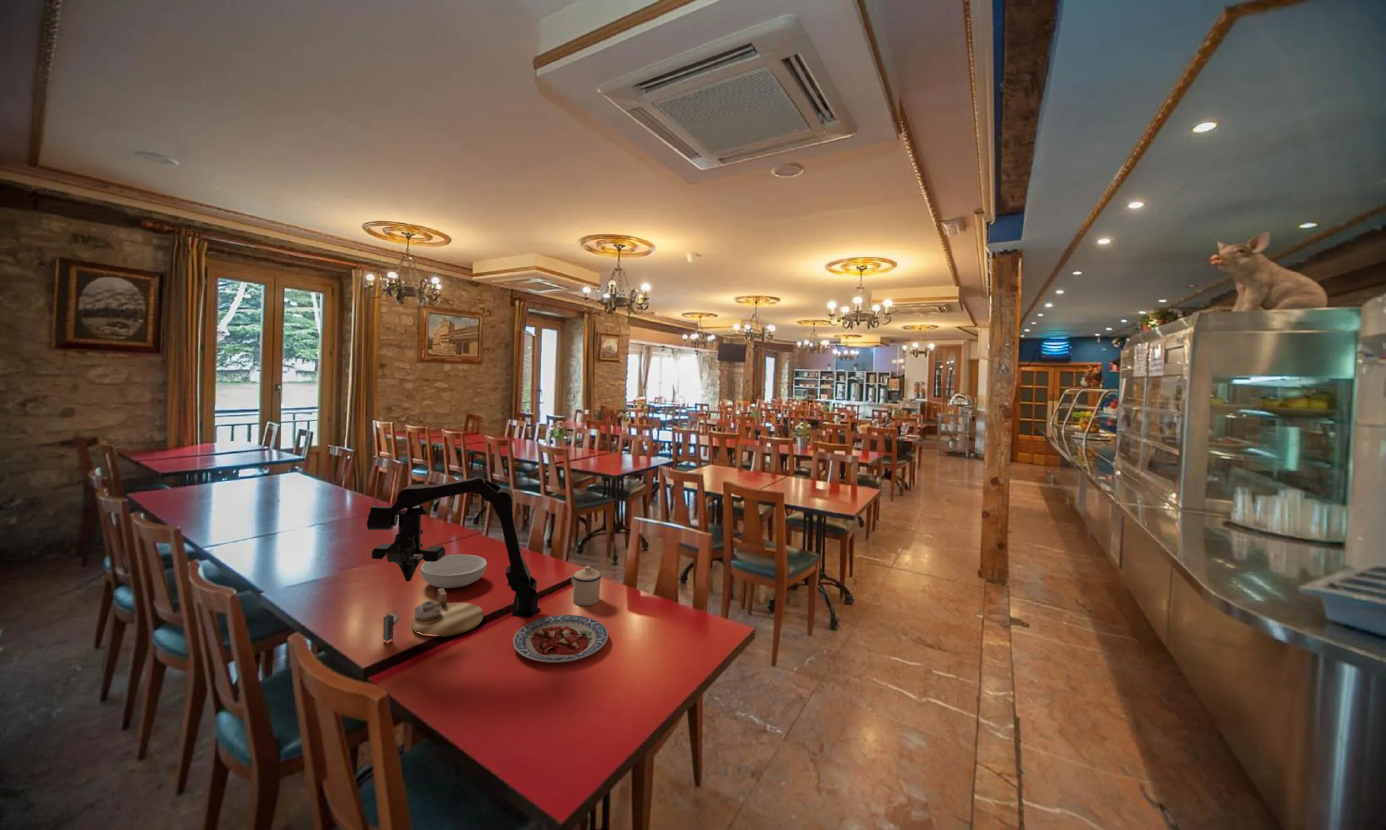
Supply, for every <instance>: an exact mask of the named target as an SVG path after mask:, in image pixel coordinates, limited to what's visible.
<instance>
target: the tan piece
mask: <svg viewBox="0 0 1386 830" xmlns="http://www.w3.org/2000/svg"><path fill="white" fill-rule="evenodd" d="M447 595H448V594H447V592H446V590H445V588H438V589H437V601H436V602H437V603H439V604H441V605H442V611H441V616H440V617H439V618H437V619H435V620H432V621H426V622H421V621H417V620H415V616H414V617H413V619H412V622H411V629H412V628H413V629H414V631H416V632H420V633H422V634H433V635H435V634H436V635H440V636H442V637H441V638H444V637H451V636H452V637H453V636H456V635H461V634H463V633H466V632H468V631H471V630H473V629H475V628H476V627H477V626H478V625H480V624H481V623H482V621H483V620H484V610H483V609H482V607H480V606H479V605H476V604H473V603H469V602H468V603H467V602H452V603H451V602H450V603H447V597H448V596H447ZM413 629H412V630H413ZM414 631H413V632H414Z"/></svg>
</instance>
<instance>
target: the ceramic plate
mask: <svg viewBox="0 0 1386 830" xmlns="http://www.w3.org/2000/svg"><path fill="white" fill-rule="evenodd" d="M608 638H609V633H608V630H607V628H606V627H605V626H604V624H603V623H602V622H599V621H598V620H595V619H593V618H590V617H587V616H584V615H583V616H582V615H577V614H576V615H575V614H574V615H573V614H560V615H559V614H558V615H551V616H547V617H545V616H544V617H542V618H538V619H536V620H533V621H531V622H529V623H527V624H525V625H523V626H522V627H521V628H520V629H519V630H517V632H516V633H515V634H514V636H513V639H512V643H513V648H514V649H515V651H516V652H517V653H518V654H519V655H521V656H523V658H527V659H530V660H533V661H537V662H543V663H566V662H572V661H577V660H580V659H584V658H586V657H589V656H591V655H593V654H595V653H596V652H598V651H600V650H601V649H602V648H603V647H604V646H605V644H607V641H608Z"/></svg>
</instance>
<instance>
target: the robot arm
mask: <svg viewBox="0 0 1386 830" xmlns="http://www.w3.org/2000/svg"><path fill="white" fill-rule="evenodd" d="M475 492H476V493H477V494H478V495H479V496H481V498H484V499H485V500H486V501H487V502H489V503H490V504H491V505H492V507H493V510H494V512H495V514H496V516H497V518H498V519H499V521H500V525H501V529H502V533H503V539H504V542H505V543H504V544H505V547H506V551H507V557H508V560H509V566H506V570H505V576H506V579H507V587H510V589H511V590H512V592H515V593H514V594H515V595H514V597H513V611H511V613H510V614H511V615H513V616H519V617H521V618H526V619H529V618H530V617H533V616H534V615H536V614H537V613H538V612H540V611H541V608H540V607H538V606H539V605H538V604H539V592H537V589H538V588H537V587H538V584H537V583H538V581H537V580H536V579H535V578H534V577H533V576H532V575H531V572H530V570H529V566H528V565H527V562H526V560H525V559H524V558H523V554H522V549H521V544H520V540H519V539H520V538H519V535H518V531H517V530H518V529H517V525H516V522H515V517H514V516H515V515H514V493H513V491H512V490H511V489H509V488H506V487H502V486H500V485H498V484H496V483H495V482H491V481H490V480H488V479H486V478H485V477H483V476H482V475H480V476H475V477H472V478H466V479H465V478H464V479H460V480H455V481H454V480H453V481H449V482H442V483H437V484H426V483H425V484H409V485H407V486H406V487H404V488H402V490H401V491H400V492H398V494H397V499H396V500H397V501H395V503H393V504H392V505H390V506H389V505H385V506H384V505H382V506H381V505H372V506H371V507H370V508H369V513H368V517H367V520H366V527H367V530H368V531H382V530H383V531H387V530H393V528H394V527H396V526H397V525H398V533H396V534H395V537H394V538H395V539H394V542H393V543H382V544H380V545H378V546H376V547H374V548H373V549H372V551H371V555H370V556H371V559H372V560H383V559H384V558H386V561H387V563H395V564H396V565H398V566H399V568H400V570H401V573H402V574H403V575H402V576H403V577H404V580H405V582H411V580H412V578H413V576H414V574H415V573H416V570H417V569H418V568H417V567H418V566H419V564H420V563H421V561H422V560H423V561H424V562H427V561H429V562H435V561H438V560H439V559H441V558H442V557H444V556H446V548H445V547H444V546H442V545H441V546H439V545H431V546H430V547H428V548H426V549H425V548H424V549H423V548H422V547H423V546H424V545H423V543H421V540H422V538H421V535H422V534H424V529H422V515H425V516H426V515H427V514H428V513H429V511H430V509H428V508H427V507H426V506H425V505H424V504H425V503H427V502H430V501H433V500H437V499H441V498H442V499H443V498H448V497H451V496H452V497H453V496H457V495H458V496H459V495H463V494H469V493H475ZM417 506H419V507H417ZM405 509H406V510H405ZM421 548H422V549H421Z"/></svg>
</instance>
